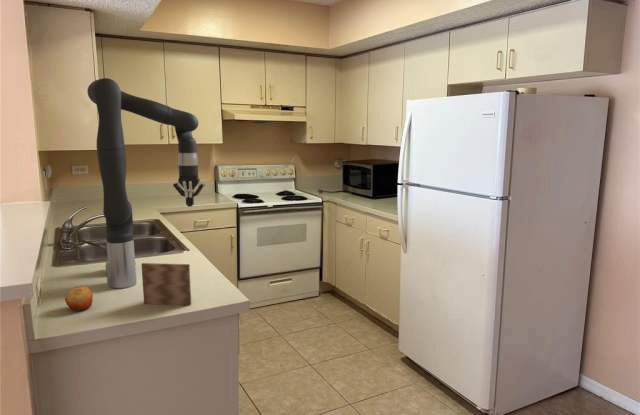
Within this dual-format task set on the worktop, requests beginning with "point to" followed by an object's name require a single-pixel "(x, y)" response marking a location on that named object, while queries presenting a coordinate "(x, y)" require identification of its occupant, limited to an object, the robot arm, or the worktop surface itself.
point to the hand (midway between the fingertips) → (190, 206)
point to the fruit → (79, 298)
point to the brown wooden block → (166, 283)
